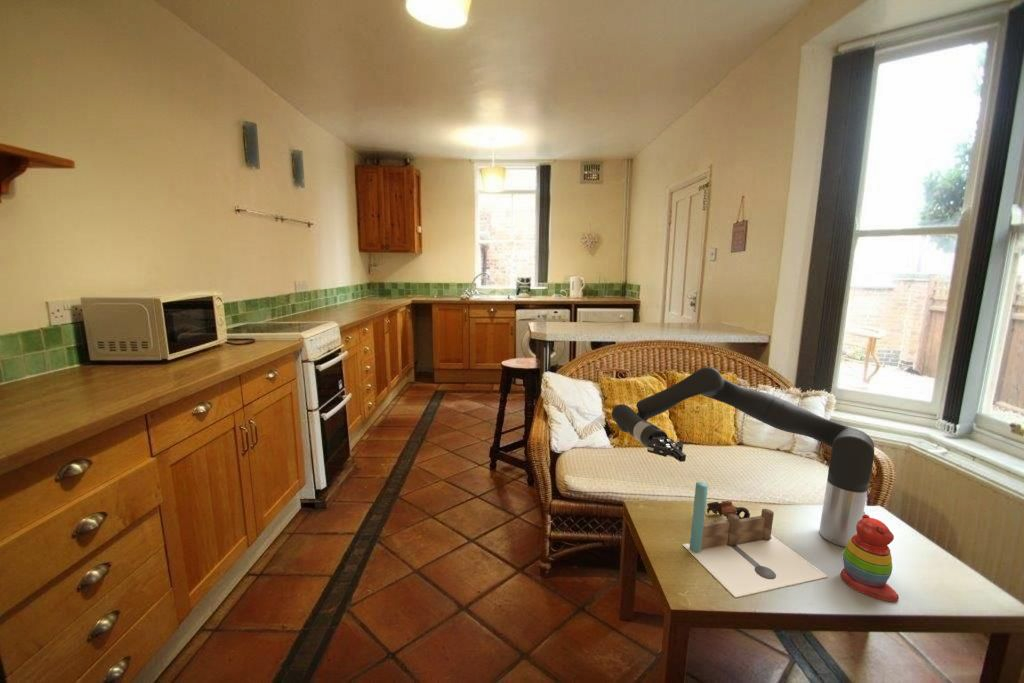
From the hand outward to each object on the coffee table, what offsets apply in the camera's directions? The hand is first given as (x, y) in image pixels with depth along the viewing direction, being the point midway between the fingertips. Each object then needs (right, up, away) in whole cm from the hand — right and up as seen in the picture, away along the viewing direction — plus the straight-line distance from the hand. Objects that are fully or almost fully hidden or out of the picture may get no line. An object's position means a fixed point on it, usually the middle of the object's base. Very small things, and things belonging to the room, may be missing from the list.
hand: (683, 458), depth 121 cm
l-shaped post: (+6, -24, -3) cm, 25 cm away
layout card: (+16, -26, -7) cm, 31 cm away
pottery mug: (+18, -23, +10) cm, 31 cm away
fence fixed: (+19, -24, +1) cm, 31 cm away
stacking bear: (+40, -28, -15) cm, 51 cm away
